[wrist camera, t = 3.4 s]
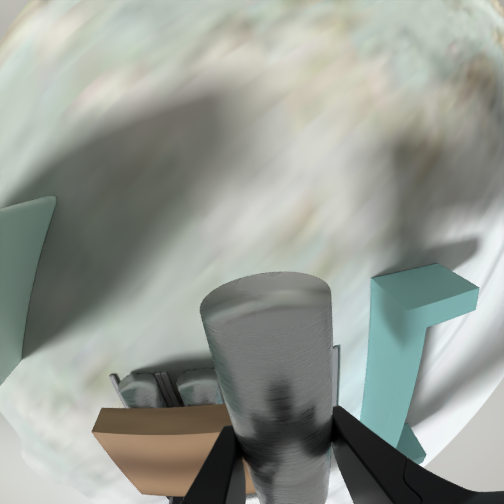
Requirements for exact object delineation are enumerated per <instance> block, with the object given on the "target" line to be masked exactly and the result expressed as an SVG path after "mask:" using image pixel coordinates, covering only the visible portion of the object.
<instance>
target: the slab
mask: <svg viewBox="0 0 504 504" xmlns="http://www.w3.org/2000/svg"><path fill="white" fill-rule="evenodd" d="M225 425H232V422H231V419H230V416H229V413H228V410H227V406H226V403H224V404H214V405H203V406H190V407H173V408H101V411H100V413H99V415H98V418H97V420H96V423H95V425H94V427H93V430H92V433H93V435H94V436H95V437H96V439H97V440H98V442H99V443H100V444H101V446H102V447H103V448H104V450H105V451H106V452H107V454H108V455H109V456H110V457H111V459H112V460H113V461H114V463H115V464H116V465H117V466H118V467H119V469H120V470H121V471H122V472H123V473H124V475H125V476H126V477H127V478H128V479H129V480H130V482H131V483H132V484H133V485H134V486H135V487H136V488H137V489H138V490H139V492H140V493H141V494H145V495H158V496H185V495H186V493H187V491H188V490H189V488H190V486H191V484H192V483H193V481H194V479H195V477H196V476H197V474H198V472H199V470H200V469H201V467H202V465H203V463H204V461H205V459H206V458H207V456H208V454H209V452H210V450H211V448H212V447H213V445H214V443H215V441H216V439H217V437H218V435H219V434H220V432H221V430H222V428H223V426H225ZM243 460H244V458H243ZM244 468H245V477H246V494H250V493H256V491H255V488H254V486H253V483H252V480H251V478H250V475H249V472H248V469H247V467H246V464H245V461H244Z"/></svg>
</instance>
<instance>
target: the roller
mask: <svg viewBox="0 0 504 504" xmlns="http://www.w3.org/2000/svg"><path fill="white" fill-rule="evenodd" d="M200 314H201V318H202V322H203V326H204V329H205V333H206V337H207V341H208V344H209V348H210V352H211V355H212V359H213V363H214V366H215V370H216V373H217V377H218V380H219V383H220V387H221V390H222V393H223V397H224V400H225V403H226V406H227V410H228V413H229V416H230V419H231V422H232V425H233V428H234V431H235V435H236V438H237V441H238V443H239V446H240V449H241V452H242V455H243V458H244V461H245V464H246V467H247V469H248V472H249V475H250V478H251V480H252V483H253V486H254V488H255V491H256V494H257V496H258V499H259V502H260V504H324V503H325V501H326V499H327V495H328V485H329V473H330V458H331V441H332V416H333V327H332V301H331V290H330V287H329V286H328V284H327V283H326V282H324V281H323V280H322V279H320V278H318V277H315V276H312V275H309V274H304V273H298V272H269V273H261V274H255V275H251V276H246V277H243V278H239V279H236V280H233V281H231V282H228V283H226V284H224V285H222V286H220V287H218V288H216V289H215V290H213V291H212V292H210V293H209V294H208V295H207V296H206V297H205V298H204V299H203V301H202V303H201V305H200Z"/></svg>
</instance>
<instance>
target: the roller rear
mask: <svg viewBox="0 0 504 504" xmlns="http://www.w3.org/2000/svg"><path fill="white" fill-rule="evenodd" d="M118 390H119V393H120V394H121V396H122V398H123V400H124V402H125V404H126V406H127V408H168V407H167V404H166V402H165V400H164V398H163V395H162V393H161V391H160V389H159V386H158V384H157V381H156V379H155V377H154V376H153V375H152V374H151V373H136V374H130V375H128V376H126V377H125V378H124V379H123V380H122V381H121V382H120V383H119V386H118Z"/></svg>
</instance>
